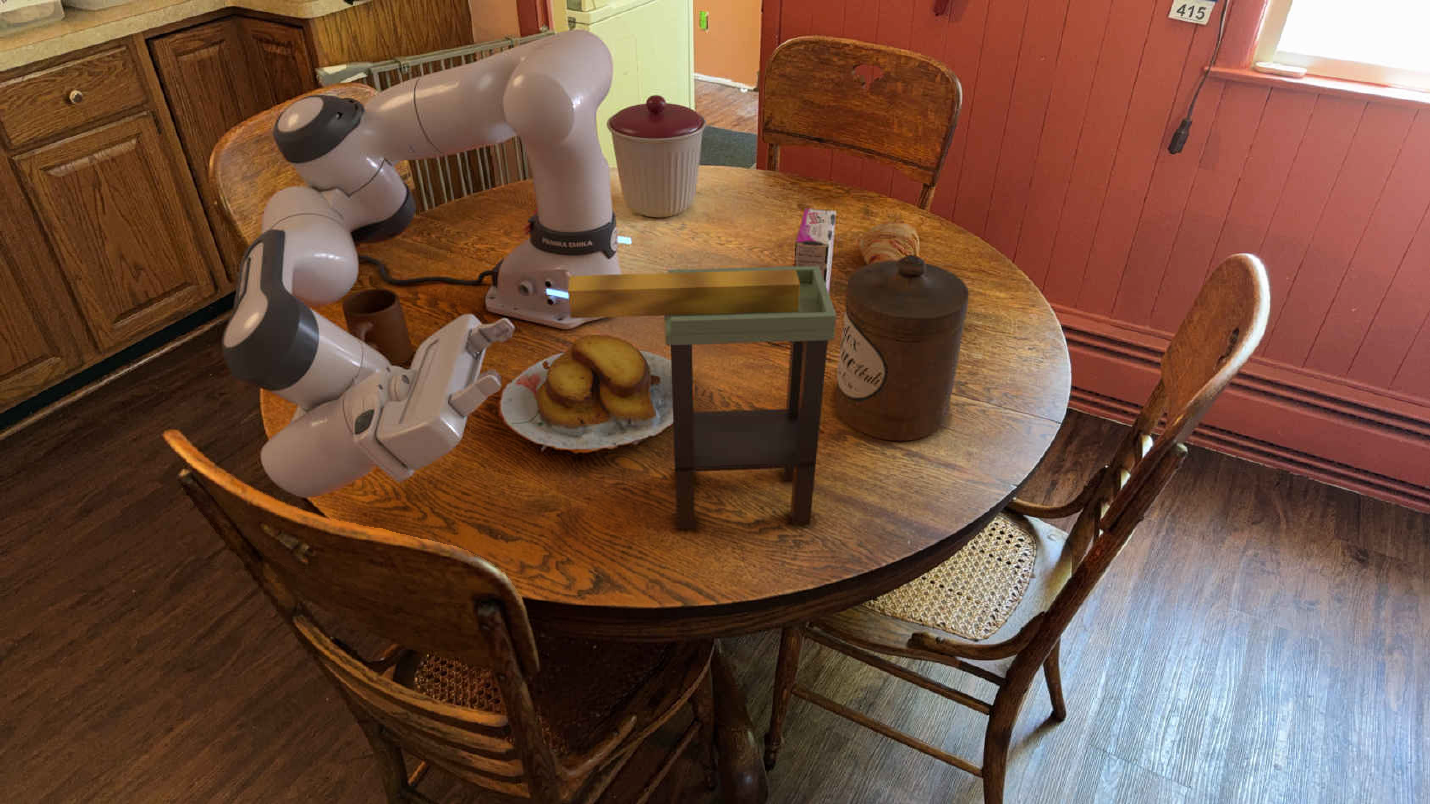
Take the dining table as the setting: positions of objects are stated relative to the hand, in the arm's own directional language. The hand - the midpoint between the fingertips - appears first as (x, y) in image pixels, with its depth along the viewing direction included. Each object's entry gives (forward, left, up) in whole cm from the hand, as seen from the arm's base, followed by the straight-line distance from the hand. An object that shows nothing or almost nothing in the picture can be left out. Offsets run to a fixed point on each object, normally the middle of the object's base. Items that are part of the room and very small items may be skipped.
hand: (504, 350), depth 86 cm
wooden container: (+40, +28, -22) cm, 53 cm away
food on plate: (+2, +20, -22) cm, 29 cm away
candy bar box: (+27, +47, -22) cm, 58 cm away
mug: (-31, +23, -22) cm, 44 cm away
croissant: (+38, +70, -22) cm, 82 cm away
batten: (+18, +5, +4) cm, 19 cm away
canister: (-6, +84, -22) cm, 87 cm away
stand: (+23, +6, -22) cm, 32 cm away
